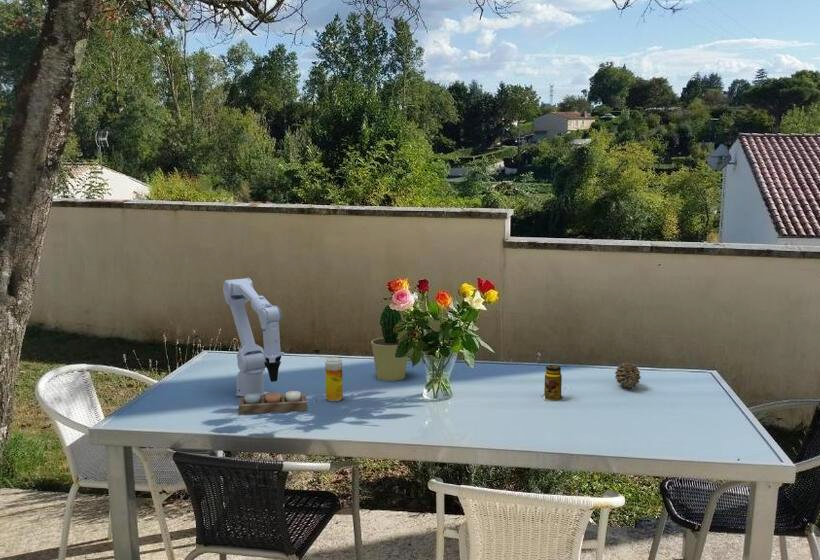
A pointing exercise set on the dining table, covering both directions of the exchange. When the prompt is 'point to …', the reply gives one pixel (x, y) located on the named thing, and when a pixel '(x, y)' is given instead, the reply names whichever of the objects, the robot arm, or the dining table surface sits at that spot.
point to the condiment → (553, 383)
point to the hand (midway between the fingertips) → (274, 379)
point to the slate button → (252, 398)
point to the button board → (272, 406)
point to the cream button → (293, 396)
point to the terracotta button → (272, 397)
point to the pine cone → (627, 375)
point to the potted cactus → (388, 349)
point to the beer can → (334, 379)
